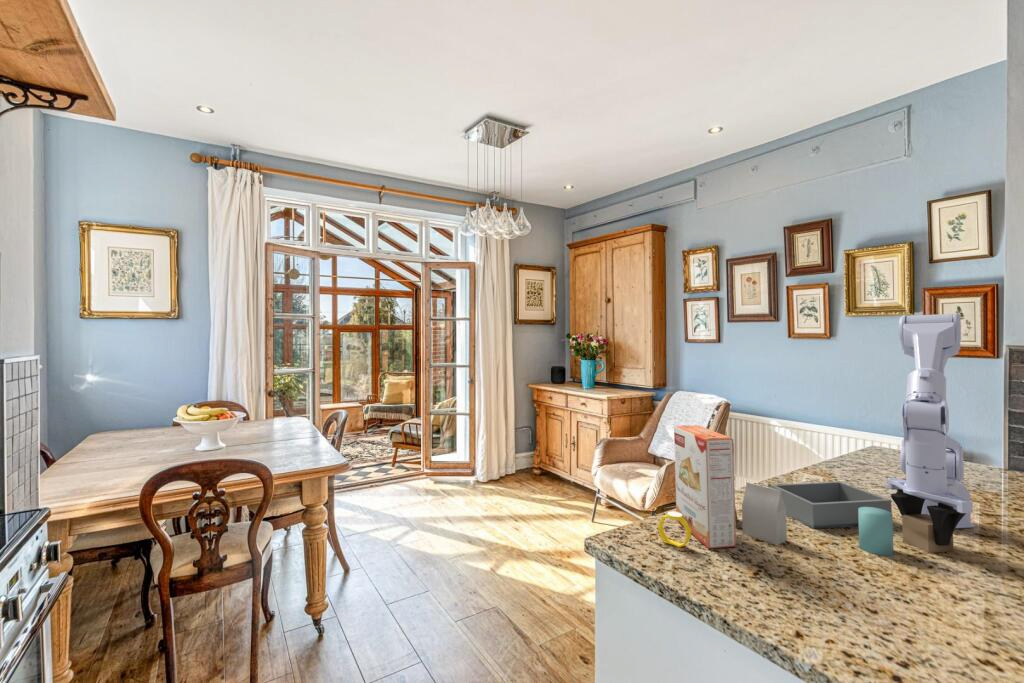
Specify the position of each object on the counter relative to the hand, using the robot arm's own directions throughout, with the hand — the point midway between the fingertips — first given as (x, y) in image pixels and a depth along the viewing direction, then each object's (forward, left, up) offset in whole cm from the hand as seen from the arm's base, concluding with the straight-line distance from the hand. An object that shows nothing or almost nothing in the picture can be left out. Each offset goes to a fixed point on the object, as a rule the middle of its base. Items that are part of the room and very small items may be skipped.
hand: (927, 538), depth 87 cm
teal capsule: (+10, 0, -1) cm, 11 cm away
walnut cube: (0, 0, -1) cm, 1 cm away
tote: (+6, -17, -1) cm, 18 cm away
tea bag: (+27, -8, -2) cm, 28 cm away
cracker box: (+38, -11, -2) cm, 40 cm away
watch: (+46, -7, -2) cm, 47 cm away
